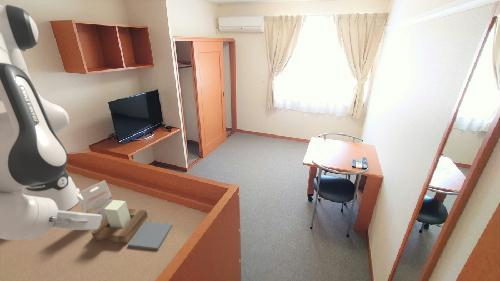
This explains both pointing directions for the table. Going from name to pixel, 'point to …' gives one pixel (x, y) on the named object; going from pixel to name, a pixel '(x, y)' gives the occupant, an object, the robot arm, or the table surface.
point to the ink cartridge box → (95, 199)
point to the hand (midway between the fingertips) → (81, 219)
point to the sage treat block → (117, 214)
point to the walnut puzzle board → (121, 234)
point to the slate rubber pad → (150, 235)
